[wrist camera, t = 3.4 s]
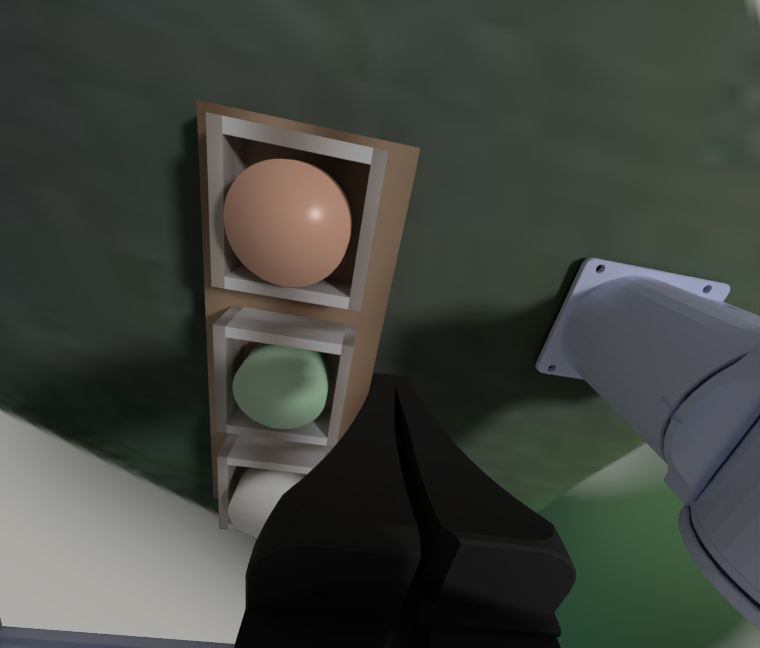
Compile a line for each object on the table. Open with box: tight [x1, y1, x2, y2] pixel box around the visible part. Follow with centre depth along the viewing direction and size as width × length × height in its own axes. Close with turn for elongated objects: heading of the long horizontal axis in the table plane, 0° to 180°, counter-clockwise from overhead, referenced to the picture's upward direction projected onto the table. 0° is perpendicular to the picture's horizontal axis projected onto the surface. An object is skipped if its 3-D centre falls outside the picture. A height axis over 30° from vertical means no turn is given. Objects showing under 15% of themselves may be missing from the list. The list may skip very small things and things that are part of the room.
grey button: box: [228, 467, 306, 538], centre depth 22 cm, size 5×5×2 cm
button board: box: [196, 100, 420, 531], centre depth 20 cm, size 10×26×4 cm, turn 169°
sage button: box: [233, 343, 331, 429], centre depth 19 cm, size 5×5×2 cm
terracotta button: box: [223, 159, 352, 287], centre depth 14 cm, size 5×5×2 cm
